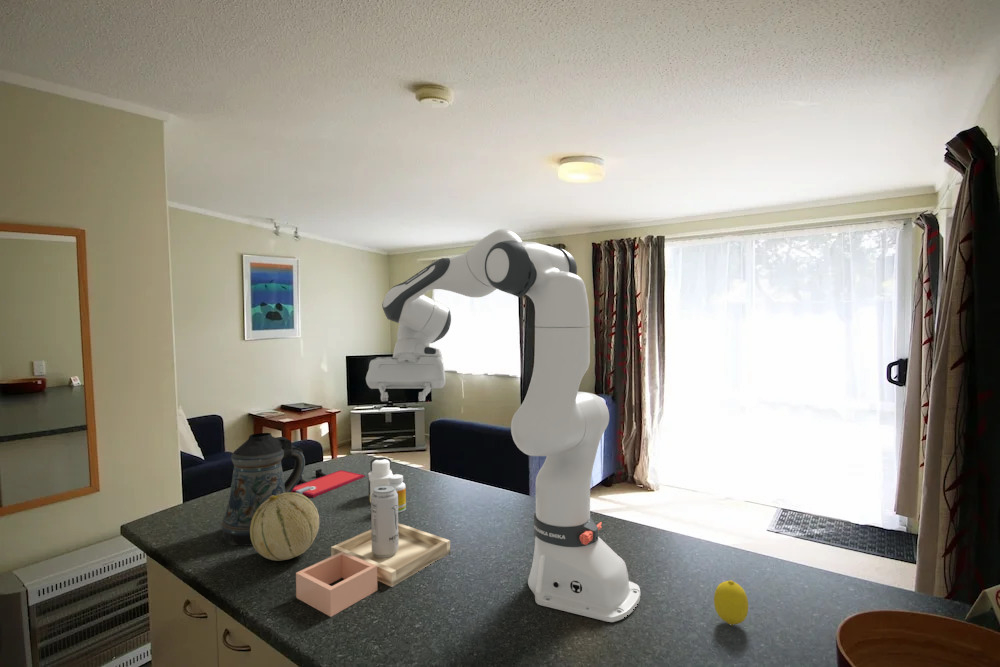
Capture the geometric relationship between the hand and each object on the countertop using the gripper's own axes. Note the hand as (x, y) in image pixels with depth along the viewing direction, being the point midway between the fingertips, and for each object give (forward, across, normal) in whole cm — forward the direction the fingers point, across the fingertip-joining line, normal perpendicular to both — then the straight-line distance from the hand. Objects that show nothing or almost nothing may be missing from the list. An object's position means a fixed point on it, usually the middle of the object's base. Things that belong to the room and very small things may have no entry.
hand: (402, 399), depth 126 cm
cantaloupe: (+32, -25, +17) cm, 44 cm away
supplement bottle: (+13, -6, +36) cm, 39 cm away
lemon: (+50, +66, -2) cm, 83 cm away
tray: (+32, -1, +16) cm, 36 cm away
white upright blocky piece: (+6, -12, +43) cm, 45 cm away
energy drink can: (+32, -2, +16) cm, 35 cm away
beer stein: (+22, -38, +27) cm, 51 cm away
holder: (+43, -8, +6) cm, 44 cm away
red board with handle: (-1, -36, +51) cm, 63 cm away
